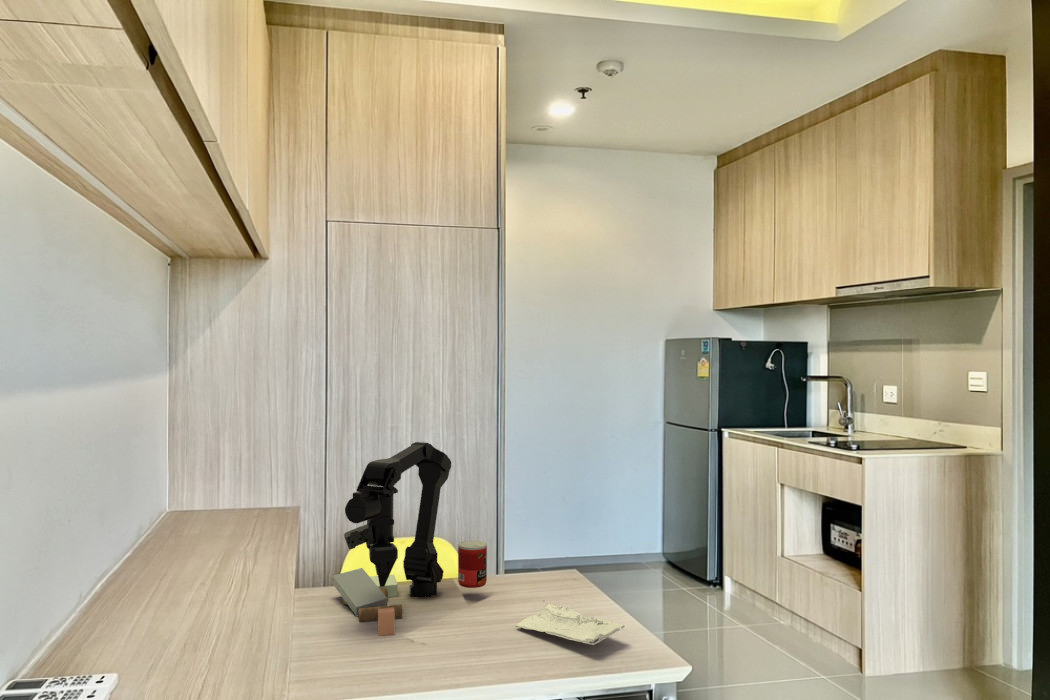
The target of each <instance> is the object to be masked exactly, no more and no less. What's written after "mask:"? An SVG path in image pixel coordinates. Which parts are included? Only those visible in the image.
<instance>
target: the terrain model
mask: <svg viewBox="0 0 1050 700" xmlns="http://www.w3.org/2000/svg"><path fill="white" fill-rule="evenodd" d="M518 627H520V628H522V629H524V630H534V631H537V632H540V633H541V632H543V633H544V632H545V634H548V635H552V636H557V637H559V638H563V639H566V640H571V641H575V642H580V643H583V644H586V645H592V646H594V645H596V644H599V643H600V642H602V641H603V640H605V639H607V638H610V636H612V635H614V634H615V633H617V632H619V631H621V630H622V629H624V628H625V627H626V626H625V624H622V623H618V622H613V621H609V620H607V619H602V618H594V616H591V617H588V616H584V615H582V614H581V613H580V612H577V611H576V610H572V609H571V608H568V607H562V605H558V606H557V605H554V604H552V603H547V605H546V606H544V607H543V609H541V610H539V612H538V613H534V614H532V615H530V616H528V617H526V618H525V619H522V620H521V621H519V622H518V623H516V624H515V628H518ZM596 640H597V641H596Z"/></svg>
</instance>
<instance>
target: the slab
mask: <svg viewBox="0 0 1050 700" xmlns="http://www.w3.org/2000/svg"><path fill="white" fill-rule="evenodd" d="M332 585H333V586H334V588H335V590H336V591H337V592H338V593H339V594H340V596H341V597H342V600H343V599H344V600H345V601H346V603H347V604H346V605H348V608H350V610H351V611H352V613H353V614H354V616H355V617H359V608H369V607H380V606H388V601H387V597H386V596H385V595H384V594H383V592H382V591H381V590H380V589H379V588H378V586H377V585H376V584H375V583H374V581H373V580H372V579H371V578H370V575H369V574H368V572H367V571H365V569H364V568H363V567H361V568H356V569H352V570H349V571H345V572H341V573H338V574H334V575H332Z"/></svg>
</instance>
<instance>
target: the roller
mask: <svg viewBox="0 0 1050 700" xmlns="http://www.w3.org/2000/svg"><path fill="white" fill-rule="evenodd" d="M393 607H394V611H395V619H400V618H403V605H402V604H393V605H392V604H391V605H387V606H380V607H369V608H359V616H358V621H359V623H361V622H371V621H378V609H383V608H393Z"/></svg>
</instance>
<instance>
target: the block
mask: <svg viewBox="0 0 1050 700" xmlns="http://www.w3.org/2000/svg"><path fill="white" fill-rule="evenodd" d="M369 577H370V578H371V579H372V580H373V581H374V583H375V584H376V585H377V586H378V588H379V589H387V591H388V598H394V597H396V598H397V597H398V595H399V594H398V589H399V587H398V585H399V584H398V582H397V579H396V576H395V574H390V575H389V577H388V579H387V582H386V584H385V586H383V587H380V584H379V579H378V575H374V576H372V575H371V576H370V575H369Z"/></svg>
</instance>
